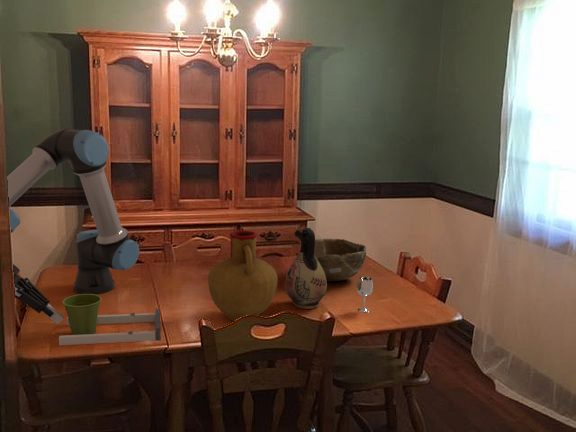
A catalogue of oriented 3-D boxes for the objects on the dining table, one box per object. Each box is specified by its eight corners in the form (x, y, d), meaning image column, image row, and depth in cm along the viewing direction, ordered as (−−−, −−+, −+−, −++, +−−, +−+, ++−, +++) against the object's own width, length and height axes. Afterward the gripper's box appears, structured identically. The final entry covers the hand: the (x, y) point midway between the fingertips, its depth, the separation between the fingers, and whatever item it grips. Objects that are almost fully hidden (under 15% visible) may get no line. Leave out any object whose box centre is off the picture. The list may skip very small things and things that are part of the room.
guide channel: (59, 345, 190) (58, 333, 189) (67, 323, 207) (67, 312, 206) (160, 340, 195) (160, 328, 195) (160, 319, 213) (160, 308, 212)
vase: (284, 327, 209) (287, 239, 203) (214, 333, 202) (214, 243, 196) (266, 304, 231) (268, 224, 225) (202, 308, 224) (202, 227, 219)
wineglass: (367, 314, 223) (369, 282, 221) (353, 311, 226) (354, 279, 224) (374, 309, 228) (376, 278, 226) (360, 306, 231) (361, 275, 229)
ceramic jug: (278, 300, 235) (280, 222, 229) (315, 296, 241) (318, 220, 235) (295, 315, 220) (297, 232, 214) (335, 311, 226) (338, 230, 220)
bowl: (349, 294, 245) (350, 257, 242) (289, 282, 258) (290, 247, 255) (375, 277, 268) (377, 243, 265) (319, 267, 281) (320, 235, 278)
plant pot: (66, 327, 204) (64, 294, 202) (103, 325, 206) (102, 292, 204) (61, 341, 192) (59, 306, 190) (101, 339, 195) (100, 304, 193)
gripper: (-3, 273, 196) (55, 321, 203) (-14, 285, 184) (48, 337, 190) (14, 256, 196) (72, 305, 203) (4, 268, 184) (66, 319, 190)
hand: (60, 320), depth 196 cm, fingers closed
